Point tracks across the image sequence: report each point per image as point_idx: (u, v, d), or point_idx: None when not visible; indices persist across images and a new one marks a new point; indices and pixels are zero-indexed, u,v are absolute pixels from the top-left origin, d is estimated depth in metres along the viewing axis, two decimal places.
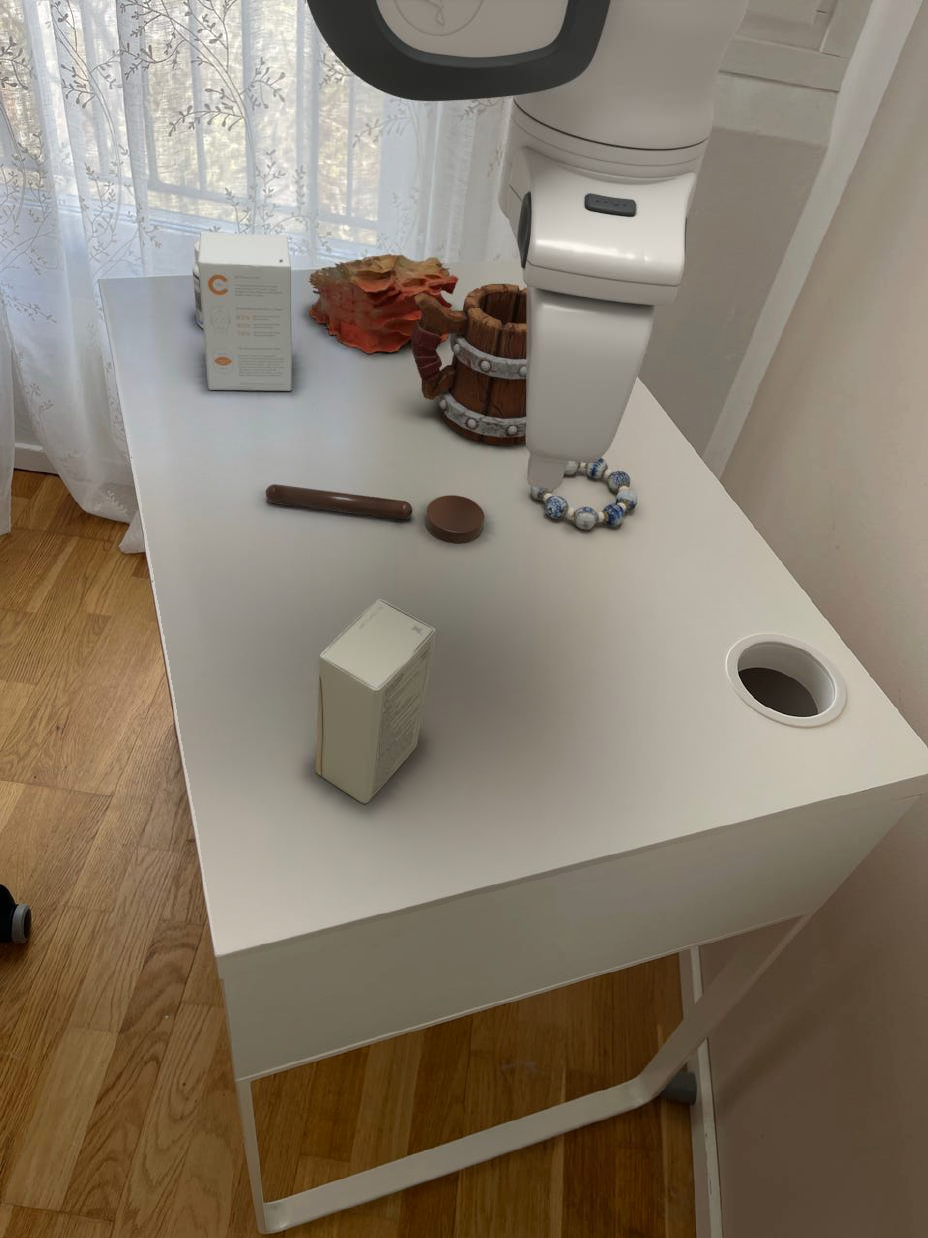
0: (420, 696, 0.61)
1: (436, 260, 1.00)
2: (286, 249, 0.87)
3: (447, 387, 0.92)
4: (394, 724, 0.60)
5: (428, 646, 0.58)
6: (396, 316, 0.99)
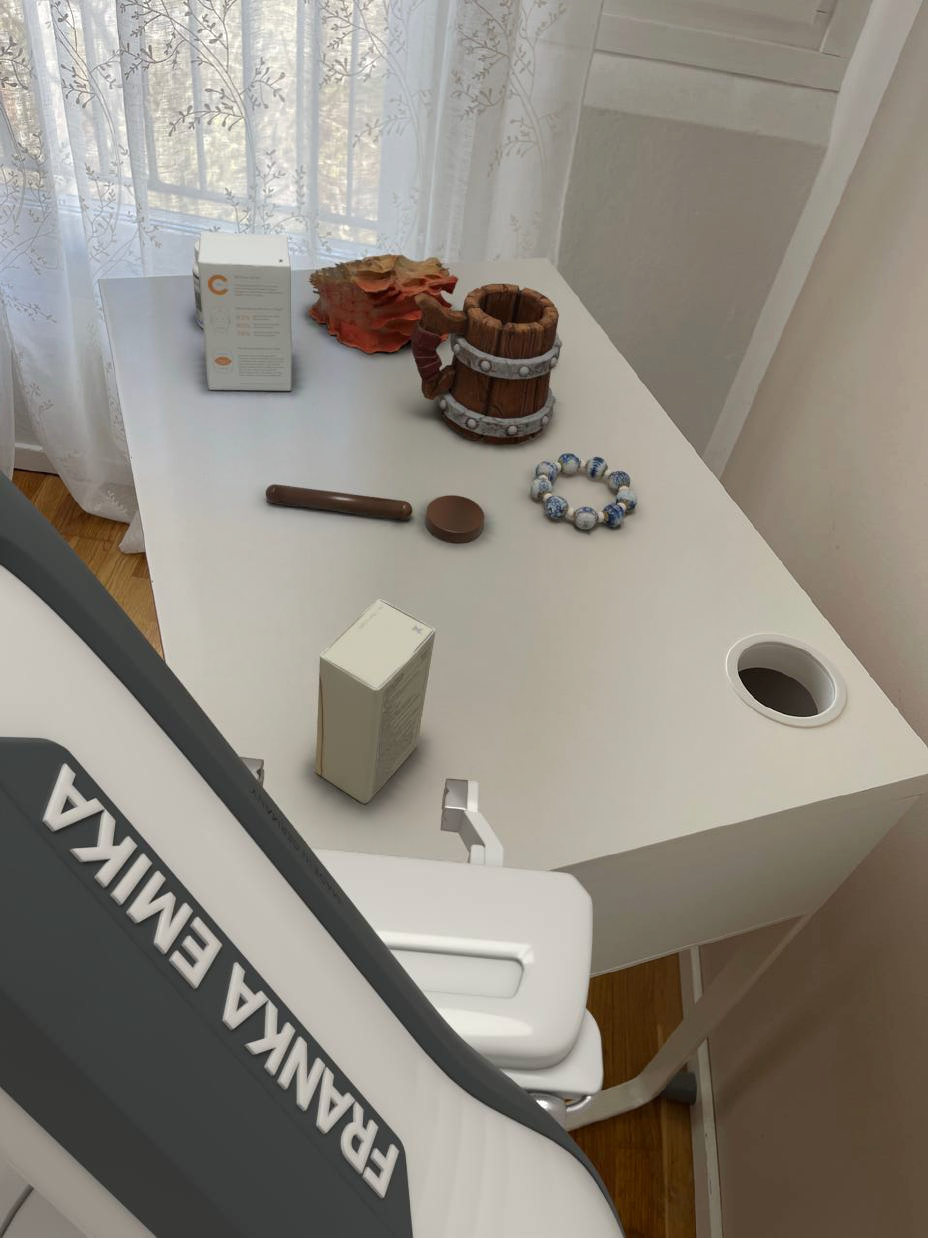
0: (420, 696, 0.61)
1: (436, 260, 1.00)
2: (286, 249, 0.87)
3: (447, 387, 0.92)
4: (394, 724, 0.60)
5: (428, 646, 0.58)
6: (396, 316, 0.99)
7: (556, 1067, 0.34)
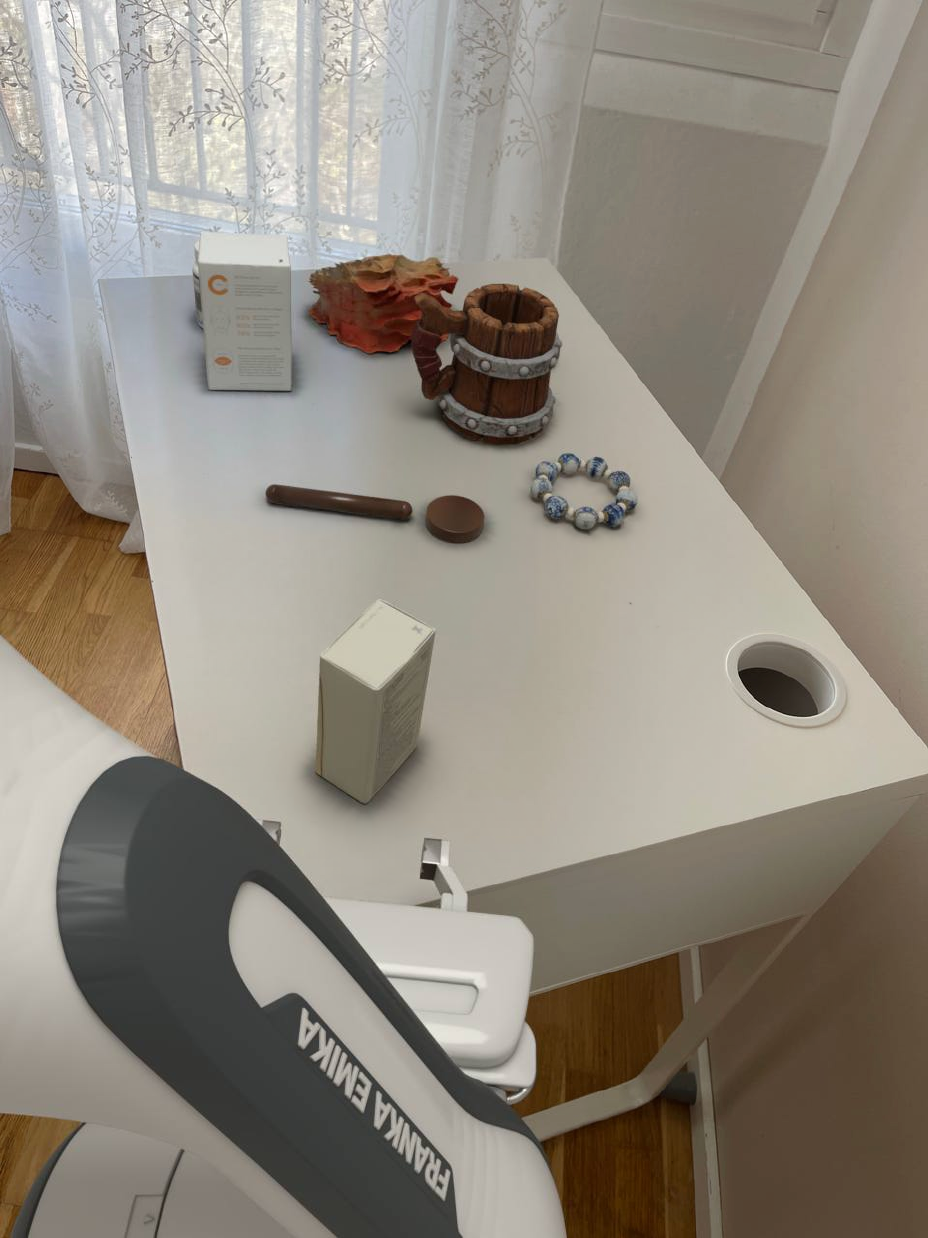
0: (420, 696, 0.61)
1: (436, 260, 1.00)
2: (286, 249, 0.87)
3: (447, 387, 0.92)
4: (394, 724, 0.60)
5: (428, 646, 0.58)
6: (396, 316, 0.99)
7: (501, 1066, 0.46)
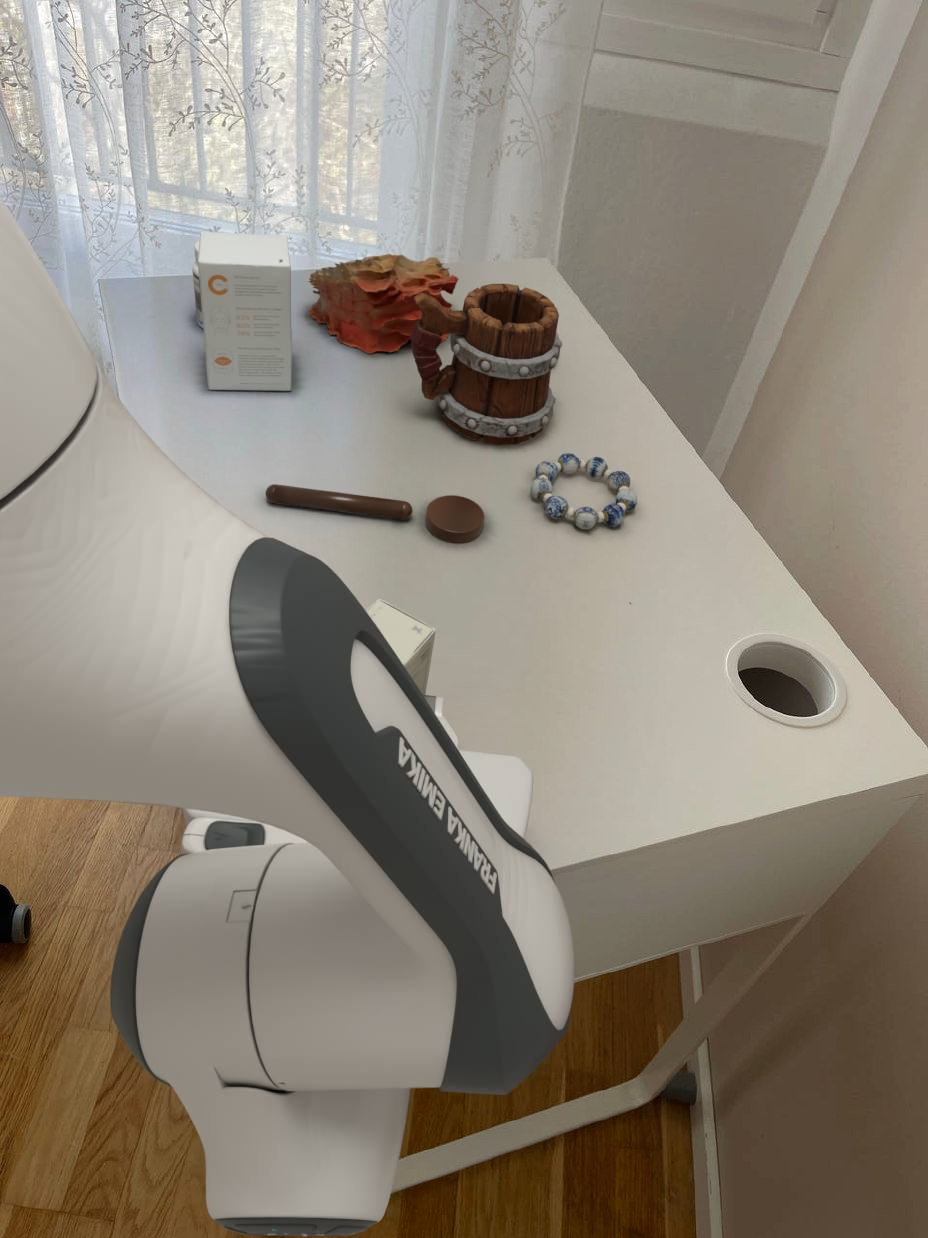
0: None
1: (436, 260, 1.00)
2: (286, 249, 0.87)
3: (447, 387, 0.92)
4: None
5: (428, 646, 0.58)
6: (396, 316, 0.99)
7: None
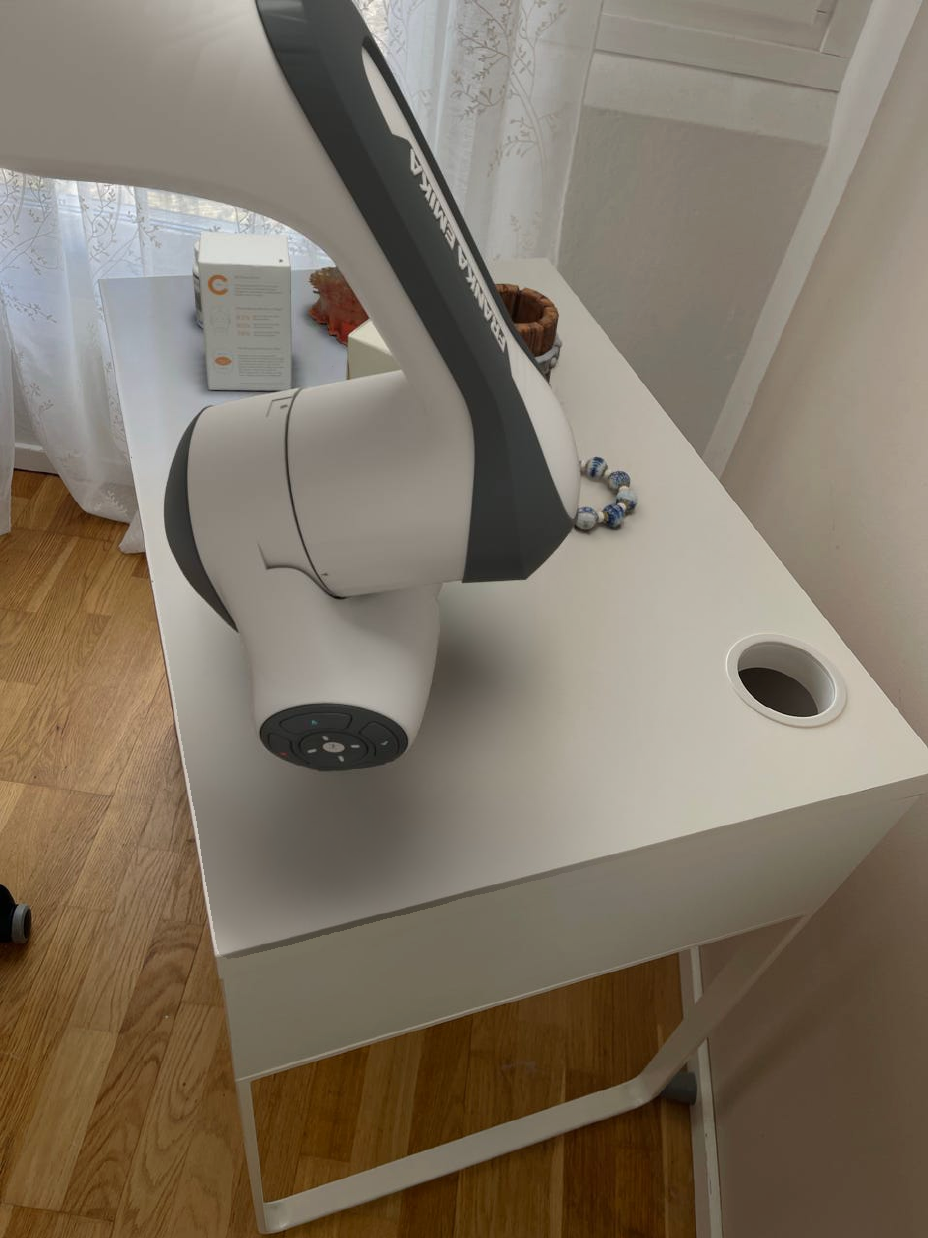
0: None
1: None
2: (286, 249, 0.87)
3: None
4: None
5: None
6: None
7: None
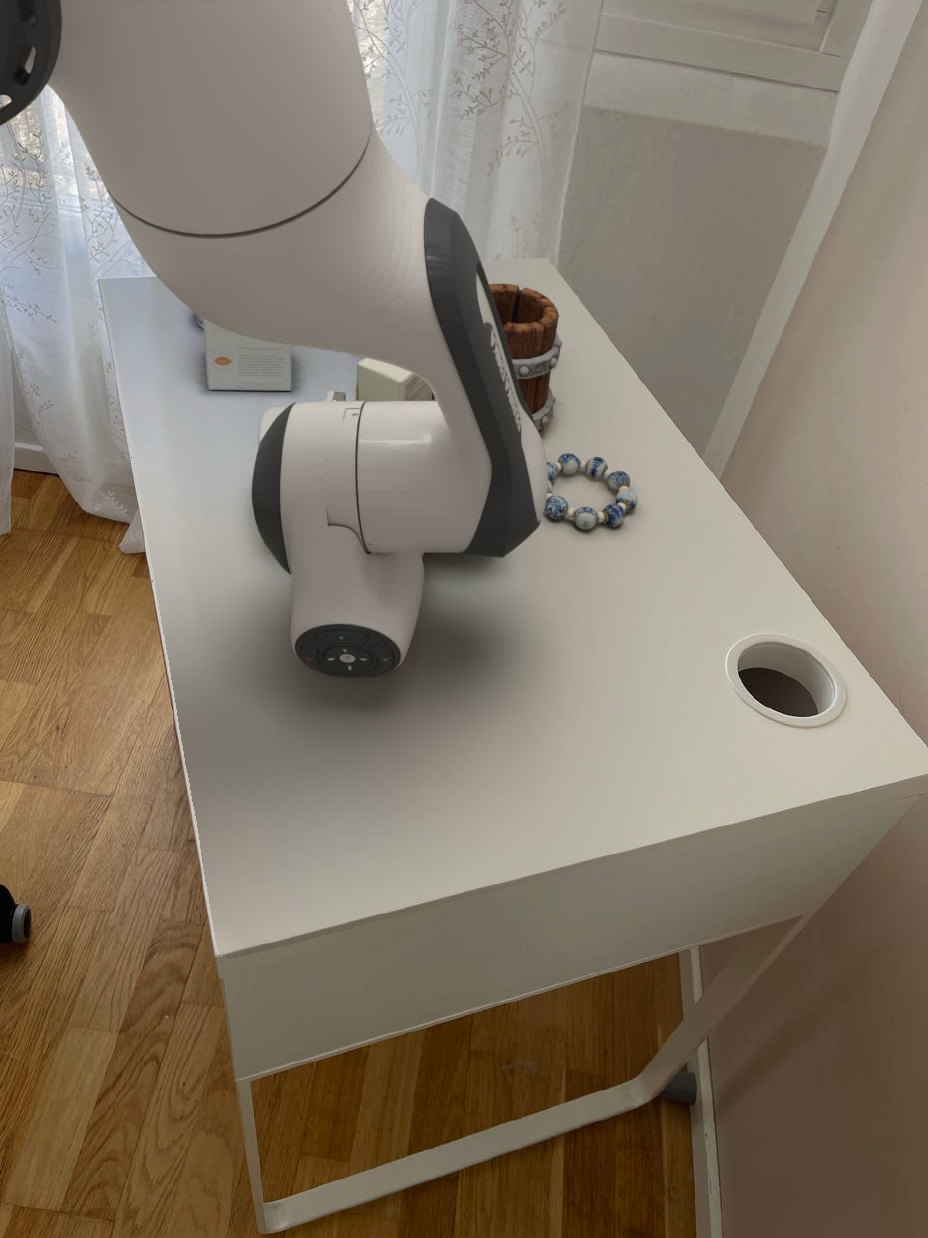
0: None
1: None
2: None
3: None
4: None
5: None
6: None
7: None
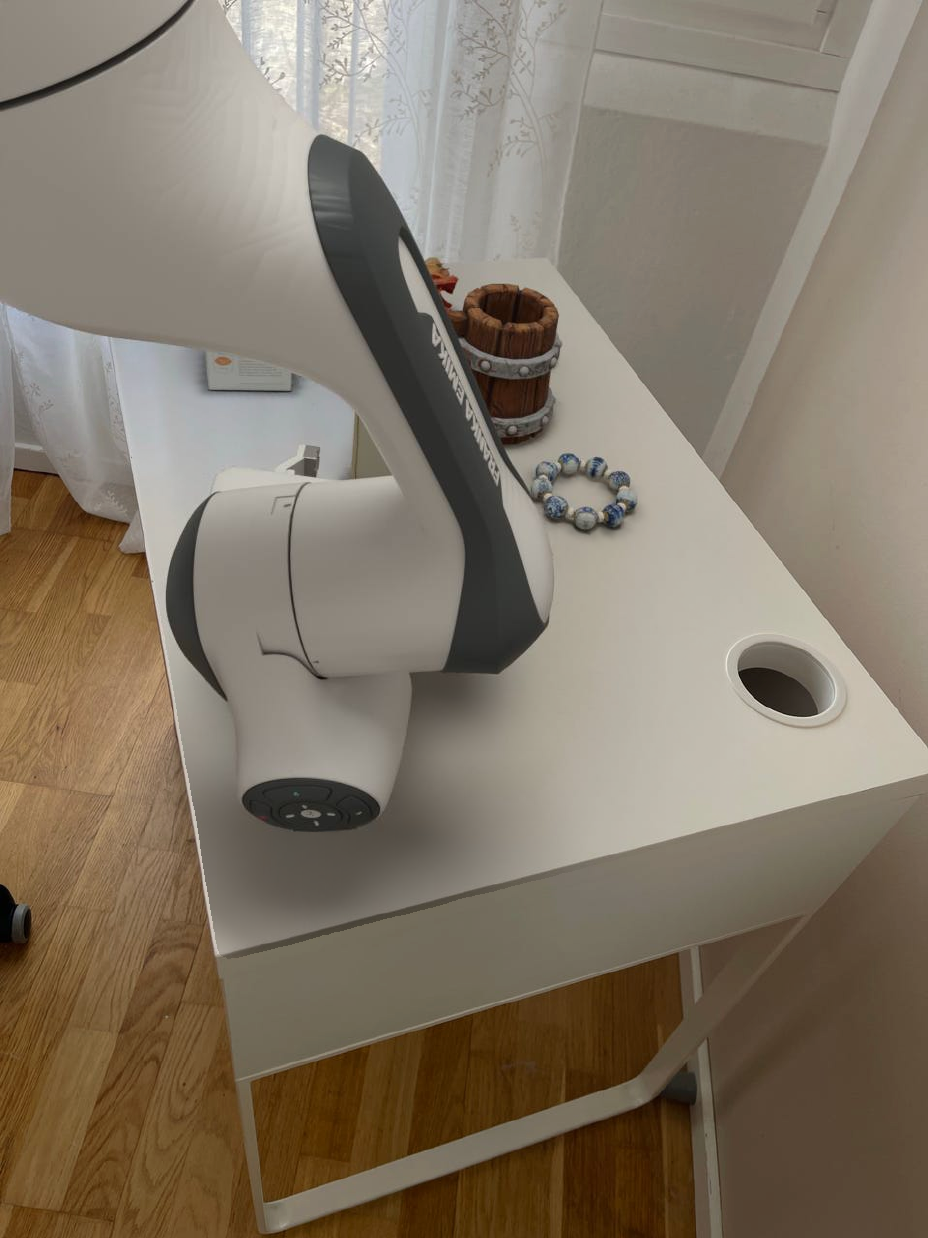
0: None
1: (436, 260, 1.00)
2: None
3: None
4: None
5: None
6: None
7: None
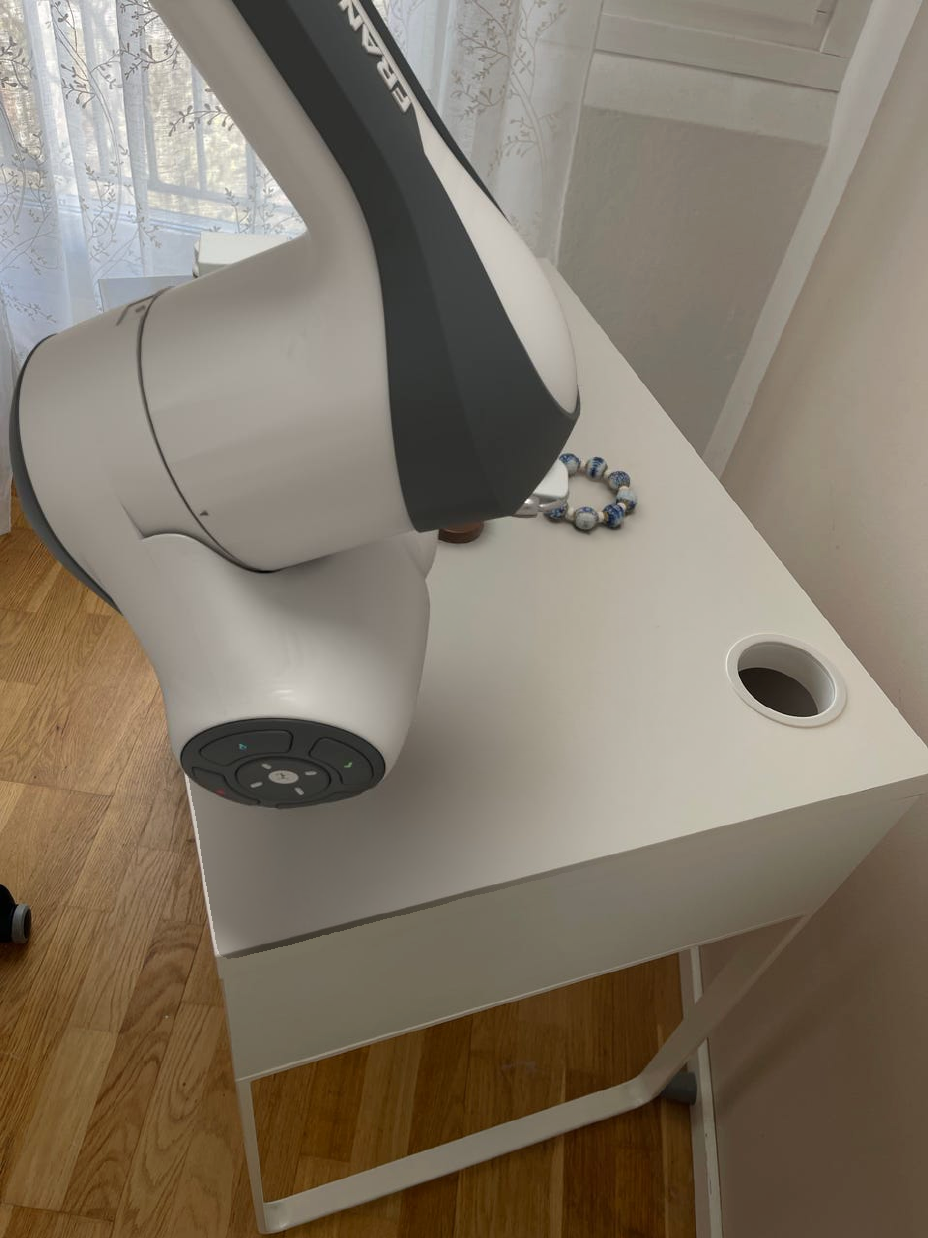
0: None
1: None
2: None
3: None
4: None
5: None
6: None
7: None
